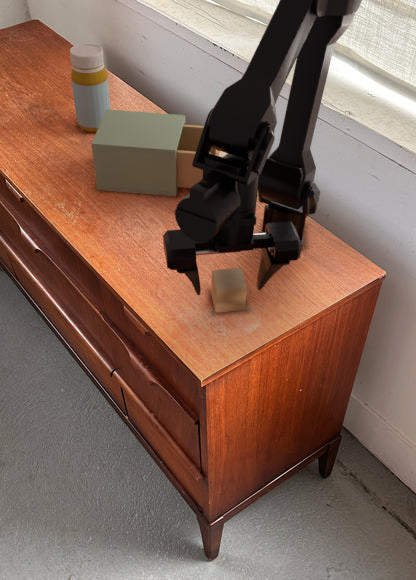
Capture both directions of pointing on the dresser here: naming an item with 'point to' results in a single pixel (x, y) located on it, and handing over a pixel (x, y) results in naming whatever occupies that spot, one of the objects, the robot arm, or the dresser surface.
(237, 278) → the block
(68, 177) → the dresser surface
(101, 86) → the bottle
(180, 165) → the drawer
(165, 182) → the cabinet
